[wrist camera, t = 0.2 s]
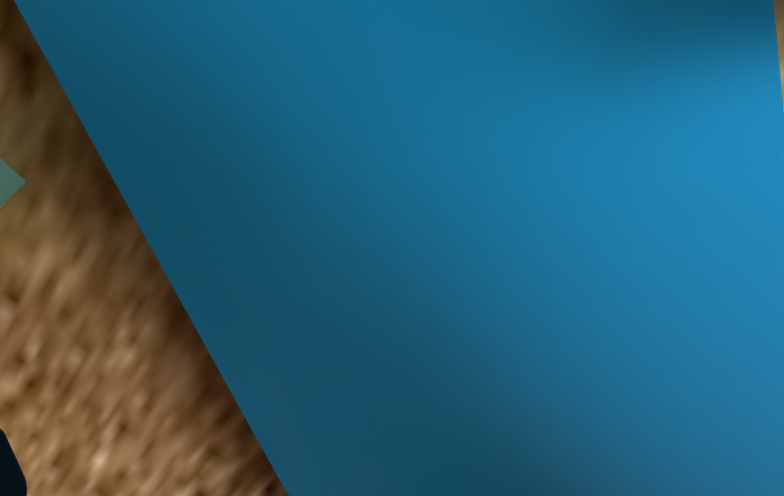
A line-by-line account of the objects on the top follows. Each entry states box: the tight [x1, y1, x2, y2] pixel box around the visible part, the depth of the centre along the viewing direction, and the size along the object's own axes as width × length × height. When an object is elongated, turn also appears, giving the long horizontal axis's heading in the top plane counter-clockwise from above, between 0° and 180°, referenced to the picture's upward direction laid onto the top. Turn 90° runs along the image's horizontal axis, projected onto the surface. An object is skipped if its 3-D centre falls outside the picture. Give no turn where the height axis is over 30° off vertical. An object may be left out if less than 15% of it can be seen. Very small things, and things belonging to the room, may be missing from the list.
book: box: [14, 0, 784, 496], centre depth 20 cm, size 17×4×25 cm
